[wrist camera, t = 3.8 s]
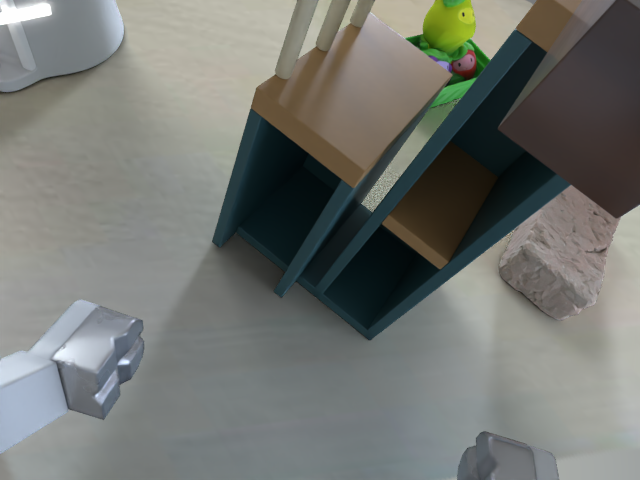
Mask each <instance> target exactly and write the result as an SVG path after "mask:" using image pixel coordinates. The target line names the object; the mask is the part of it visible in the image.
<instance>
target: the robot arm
mask: <svg viewBox="0 0 640 480" xmlns="http://www.w3.org/2000/svg"><path fill="white" fill-rule="evenodd" d="M123 34H124V25H123V21H122V18H121V15H120V13H119V10H118V7H117V4H116V1H115V0H0V91H2V92H12V91H16V90H20V89H22V88H24V87H27V86H29V85H31V84H33V83H35V82H37V81H39V80H41V79H43V78H47V77H52V76H58V75H65V74H71V73H76V72H79V71H83V70H86V69H89V68H91V67H94V66H96V65H98V64H100V63H102V62H103V61H105V60H106V59H108V58H109V57H110V56H111V55H112V54H113V53H114V52H115V51H116V50H117V49H118V47H119V46H120V44H121V41H122V39H123ZM142 331H143V321H142V320H140V319H137V318H134V317H131V316H128V315H125V314H123V313H120V312H117V311H114V310H111V309H108V308H105V307H102V306H100V305H97V304H94V303H91V302H87V301H84V300H81V299H79V300H78V301H76V302H74V303H73V304H71V305H70V307H69V308H68V309H67V310H66V311H65V312H64V313H63V314H62V315H61V316H60V317H59V318H58V319H57V321H56V322H55V323H54V324H53V325H52V326H51V327H50V328H49V329H48V330H47V331H46V332H45V333H44V335H43V336H42V337H41V338H40V339H39V340H38V341H37V342H36V343H35V344H34V345H33V346H32V347H31V349H30V350H29V351H28V352H25V351H22V350H21V351H18V352H16V353H14V354H11V355H9V356H6V357H4V358H2V359H0V454H1V453H3V452H4V451H6V450H7V449H9V448H11V447H12V446H14V445H15V444H17V443H19V442H20V441H22V440H23V439H25V438H27V437H28V436H30V435H31V434H33V433H35V432H36V431H38V430H39V429H41V428H43V427H44V426H46V425H47V424H49V423H51V422H52V421H54V420H55V419H57V418H59V417H60V416H62V415H63V414H65V413H67V412H68V409H70V410H74V411H77V412H80V413H83V414H87V415H90V416H93V417H96V418H99V419H103V420H104V419H105V417H106V416H107V414H108V413H109V411H110V410H111V408H112V407H113V405H114V404H115V402H116V401H117V399H118V398H119V396H120V386H119V385H120V384H122V383H124V382H126V381H128V380H130V379H131V378H132V377H133V375H134V373H135V372H136V370H137V369H138V366H139V364H140V362H141V359H142V357H143V353H144V341H143V339H142V338H141V337H140V336H139V335H140V334H141V332H142ZM457 480H559V475H558V470H557V464H556V459H555V457H554V456H553V454H552V453H550V452H548V451H545V450H542V449H538V448H535V447H532V446H529V445H527V444H525V443H521V442H518V441H515V440H512V439H508V438H505V437H502V436H499V435H495V434H492V433H489V432H486V431H484V432H481V433H480V434H479V435H478V436H477V437H476V446H473V447H469V448H467V450H466V451H465V452H464V454H463V455H462V458H461V461H460V464H459V467H458V475H457Z"/></svg>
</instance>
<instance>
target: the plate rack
mask: <svg viewBox="0 0 640 480" xmlns="http://www.w3.org/2000/svg"><path fill="white" fill-rule="evenodd" d="M350 1H351V0H332V2H331V4H330V7H329V10H328V12H327V15H326V17H325V20H324V23H323V25H322V28H321V30H320V33H319V36H318V38H317V41H316V47H315V48H313V49H312V50H311V51H309V52H308V53H306V54H305V55H303V56H302V57H300V58H299V59H298V56H299V53H300V50H301V48H302V45H303V42H304V39H305V36H306V34H307V31H308V28H309V25H310V23H311V20H312V17H313V14H314V11H315V9H316V6H317V3H318V0H297V3H296V6H295V9H294V12H293V15H292V18H291V22H290V25H289V28H288V31H287V34H286V37H285V40H284V44H283V47H282V50H281V53H280V56H279V59H278V62H277V66H276V69H275V73H276V74H275V75H274V76H272V77H271V78H270V79H268V80H267V81H265V82H264V83H262V84H261V85H259V86H258V87H257V88H256V91H255V95H254V98H253V102H252V105H251V109H250V112H249V116H248V119H247V123H246V126H245V130H244V133H243V136H242V140H241V143H240V147H239V150H238V154H237V157H236V161H235V164H234V168H233V171H232V175H231V178H230V181H229V185H228V188H227V192H226V195H225V199H224V202H223V206H222V209H221V213H220V216H219V220H218V223H217V226H216V230H215V233H214V237H213V240H212V242H213V243H214V244H216V245H217V246H218V247H221V246H222V245H223V244H224V243H225V242H226V241H227V240H228V239H229V238H230V237H231V236H233V235H234V234H235V233H237V234H239V235H240V236H241V237H242V238H244V239H245V240H246V241H247V242H248V243H250V244H251V245H252V246H253V247H255V248H256V249H257V250H258V251H260V252H261V253H262V254H263V255H265V256H266V257H267V258H268V259H270V260H271V261H272V262H273V263H275V264H276V265H277V266H278V267H279V268H281V269H282V270H283V271H284V272H285V273H284V275H283V277H282V278H281V280H280V282H279V283H278V285H277V286H276V288H275V290H274V292H275V293H276V294H277V295H278V296H280V297H283V295H284V294H285V293H286V292H287V291H288V290H289V288H290V287H291V286H292V285H293V284H294V282H295V281H297V282H298V283H299V284H301V285H302V286H303V287H304V288H306V289H307V290H308V291H309V292H310V293H312V294H313V295H314V296H315V297H317V298H318V299H319V300H320V301H322V302H323V303H324V304H325V305H327V306H328V307H329V308H330V309H332V310H333V311H334V312H335V313H337V314H338V315H339V316H340V317H341V318H343V319H344V320H345V321H346V322H348V323H349V324H350V325H351V326H353V327H354V328H355V329H356V330H358V331H359V332H360V333H361V334H363V335H364V336H365V337H366V338H367V339H369V340H371V339H373V338H374V337H375V336H376V335H378V334H379V333H380V332H382V331H383V330H384V329H385V328H387V327H388V326H389V325H391V324H392V323H393V322H395V321H396V320H397V319H398V318H400V317H401V316H402V315H404V314H405V313H406V312H407V311H409V310H410V309H411V308H413V307H414V306H415V305H417V304H418V303H419V302H420V301H422V300H423V299H424V298H426V297H427V296H428V295H429V294H431V293H432V292H433V291H435V290H436V289H437V288H439V287H440V286H441V285H442V284H444V283H445V282H446V281H448V280H449V279H450V278H451V277H453V276H454V275H455V274H457V273H458V272H459V271H461V270H462V269H463V268H464V267H466V266H467V265H468V264H470V263H471V262H472V261H473V260H475V259H476V258H477V257H479V256H480V255H481V254H483V253H484V252H485V251H486V250H488V249H489V248H490V247H492V246H493V245H494V244H495V243H497V242H498V241H499V240H501V239H502V238H503V237H505V236H506V235H507V234H508V233H510V232H511V231H512V230H514V229H515V228H516V227H517V226H519V225H520V224H521V223H523V222H524V221H525V220H527V219H528V218H529V217H530V216H532V215H533V214H534V213H536V212H537V211H538V210H540V209H541V208H542V207H543V206H545V205H546V204H547V203H549V202H550V201H551V200H552V199H554V198H555V197H556V196H558V195H559V194H560V193H562V192H563V191H564V190H565V189H567V188H568V187H569V186H571V184H569V183H568V182H567V181H565V180H564V179H563V178H561V177H560V176H559V175H557V174H556V173H555V172H553V171H552V170H551V169H549V168H548V167H547V166H545V165H544V164H543V163H542V162H540V161H539V160H538V159H536V158H535V157H534V156H532V155H531V154H530V153H528V152H527V151H526V150H524V149H523V148H522V147H520V146H519V145H518V144H516V143H515V142H514V141H512V140H511V139H510V138H508V137H507V136H506V135H504V134H503V133H502V132H500V131H499V130H498V127H499V125H500V124H501V122H502V121H503V119H504V118H505V116H506V115H507V113H508V112H509V110H510V109H511V107H512V105H513V104H514V102H515V101H516V99H517V98H518V96H519V95H520V93H521V92H522V90H523V89H524V87H525V86H526V84H527V83H528V81H529V80H530V78H531V77H532V75H533V74H534V72H535V71H536V69H537V68H538V66H539V65H540V63H541V62H542V60H543V59H544V57H545V56H546V54H547V52H548V51H549V49H550V48H551V46H552V45H553V43H554V42H555V40H556V39H557V37H558V36H559V34H560V33H561V31H562V30H563V28H564V27H565V25H566V24H567V22H568V21H569V19H570V18H571V16H572V15H573V13H574V12H575V10H576V9H577V7H578V6H579V4H580V3H581V1H582V0H537V1H536V2H535V4H534V5H533V6H532V8H531V9H530V10H529V11H528V13H527V14H526V15H525V17H524V18H523V19H522V21H521V22H520V23H519V24H518V26H517V27H516V28H515V30H514V31H513V32H512V33H511V35H510V36H509V37H508V39H507V40H506V41H505V42H504V44H503V45H502V46H501V48H500V49H499V50H498V52H497V53H496V54H495V55H494V57H493V58H492V59H491V61H490V62H489V63H488V64H487V66H486V67H485V68H484V70H483V71H482V72H481V73H480V75H479V76H478V77H477V79H476V80H475V81H474V82H473V84H472V85H471V86H470V88H469V89H468V90H467V92H466V93H465V94H464V95H463V97H462V98H461V99H460V101H459V102H458V103H457V104H456V106H455V107H454V108H453V110H452V111H451V112H450V113H449V115H448V116H447V117H446V119H445V120H444V121H443V123H442V124H441V125H440V126H439V128H438V129H437V130H436V132H435V133H434V134H433V135H432V137H431V138H430V139H429V141H428V142H427V143H426V144H425V146H424V147H423V148H422V150H421V151H420V152H419V153H418V155H417V156H416V157H415V159H414V160H413V161H412V163H411V164H410V165H409V166H408V168H407V169H406V170H405V172H404V173H403V174H402V175H401V177H400V178H399V179H398V181H397V182H396V183H395V184H394V186H393V187H392V188H391V190H390V191H389V192H388V193H387V195H386V196H385V197H384V199H383V200H382V201H381V203H380V204H379V205H378V206H377V208H376V209H375V210H374V212H373V213H372V212H371V211H370V210H368V209H367V208H366V207H365V206H363V205H362V204H361V203H362V201H363V200H364V199H365V197H366V196H367V194H368V193H369V192H370V190H371V189H372V187H373V186H374V185H375V183H376V182H377V180H378V179H379V178H380V176H381V175H382V173H383V172H384V171H385V169H386V168H387V166H388V165H389V164H390V162H391V161H392V159H393V158H394V157H395V155H396V154H397V153H398V151H399V150H400V148H401V147H402V146H403V144H404V143H405V141H406V140H407V139H408V137H409V136H410V134H411V133H412V132H413V130H414V129H415V127H416V126H417V125H418V123H419V122H420V120H421V119H422V118H423V116H424V115H425V113H426V112H427V111H428V109H429V108H430V106H431V105H432V104H433V102H434V101H435V99H436V98H437V97H438V95H439V94H440V92H441V91H442V90H443V88H444V87H445V86H446V84H447V83H448V81H449V80H450V79H451V77H452V74H451V73H450V72H449V71H447V70H446V69H445V68H443V67H442V66H441V65H439V64H438V63H437V62H435V61H434V60H433V59H431V58H430V57H429V56H427V55H426V54H425V53H423V52H422V51H421V50H419V49H418V48H417V47H415V46H414V45H413V44H411V43H410V42H409V41H407V40H406V39H405V38H403V37H402V36H401V35H399V34H398V33H397V32H395V31H394V30H393V29H391V28H390V27H389V26H387V25H386V24H385V23H383V22H382V21H381V20H379V19H378V18H377V17H375V16H374V15H373V14H371V13H370V10H371V8H372V5H373V3H374V1H375V0H358V2H357V5H356V7H355V9H354V12H353V14H352V16H351V19H350V22H351V23H350V24H349V25H347V26H346V27H344V28H343V29H341V30H340V31H338V29H339V27H340V24H341V22H342V20H343V17H344V15H345V12H346V10H347V8H348V5H349V3H350Z"/></svg>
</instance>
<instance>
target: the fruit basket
mask: <svg viewBox="0 0 640 480" xmlns="http://www.w3.org/2000/svg"><path fill="white" fill-rule="evenodd" d="M475 28H476V21H475V15H474V11H473V8H472V5H471V0H435V2H434V4H433V6H432V7H431V8H430V10H429V11H428V13H427V15H426V17H425V19H424V23H423V34H421V35H417V36H413V37H408V38H405V39H406V40H407V41H409V42H410V43H411V44H413V45H414V46H415V47H417V48H418V49H419V50H421V51H422V52H423V53H425V54H426V55H427V56H429V57H430V58H431V59H433V60H434V61H435V62H437V63H438V64H439V65H441V66H442V67H443V68H445V69H446V70H447V71H449V72H450V73H451V74H452V77H451V79H450V80H449V81H448V83H447V84H446V86H445V87H444V88H443V90H442V91H441V92H440V94H439V95H438V97H437V98H436V99H435V101H434V102H433V104H432V105H431V106H430V108H432V107H435V106H438V105H439V104H444V103H447V102H450V101H452V100H453V99H455V100H456V99H459V98H462V97H463V95H464V94H465V93H466V92H467V90H468V89H469V88H470V86H471V85H472V84H473V82H474V81H475V80H476V79H477V77H478V76H479V75H480V73H481V72H482V71H483V70H484V68H485V67H486V66H487V64H488V63H489V62H490V61H491V60H490V59H489V58H488V57H487V56H486V55H485V54H484V53H483V52H482V51H481V50H480V49H479V47H478V46H477V45H476V44H475V43H474V42H473V41H472V40H471V39H470V38H472V37H473V35H474V32H475Z"/></svg>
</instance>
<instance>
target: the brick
mask: <svg viewBox="0 0 640 480" xmlns="http://www.w3.org/2000/svg"><path fill="white" fill-rule="evenodd" d="M620 218H621V217H620ZM620 218H618V219H616V218H614V217H613V216H612V215H610V214H609V213H608V212H606V211H605V210H604V209H602V208H601V207H600V206H599V205H597V204H596V203H595V202H593V201H592V200H591V199H589V198H588V197H587V196H585V195H584V194H583V193H581V192H580V191H579V190H577V189H576V188H575V187H573V186H572V185H571V186H569V187H568V188H567V189H565V190H564V191H563V192H562V193H560V194H559V195H558V196H556V197H555V198H554V199H552V200H551V201H550V202H549V203H547V204H546V205H545V206H543V207H542V208H541V209H540V210H538V211H537V212H536V213H534V214H533V215H532V216H530V217H529V218H528V219H527V220H525V221H524V222H523V223H521V224H520V225H519V226H517V227H516V228H515V231H514V233H513V235H512V237H511V241H510V243H509V244H508V246H507V248H506V250H505V252H504V254H503V257H502V260H501V262H500V265H499V273H500V275H501V277H502V278H503V279H504V280H505V281H507V282H508V283H509V284H510V285H511V286H512V287H513V288H514V289H515V290H518V291H521V292H522V293H523V294H524V295H525V296H526V297H527V298H529V299H530V300H531V301H532V302H533V303H534V304H536V305H537V306H538V307H539V308H540V309H541V310H542V311H543V312H545V313H546V314H548V315H549V316H551V317H553V318H555V319H557V320H564V319H566V318H567V317H568V316H573V315H577V314H579V313H580V311H581V310H582V309H584V308H588V307H590V306H593V305H594V304H595V303H596V300H597V297H598V294H599V292H600V289H601V286H602V282H603V278H604V271H605V264H606V259H605V258H606V257H607V254H608V248H609V246H610V244H611V242H612V241H613V234H614V233H615V231H616V228H617V226H618V224H619V221H620Z"/></svg>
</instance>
